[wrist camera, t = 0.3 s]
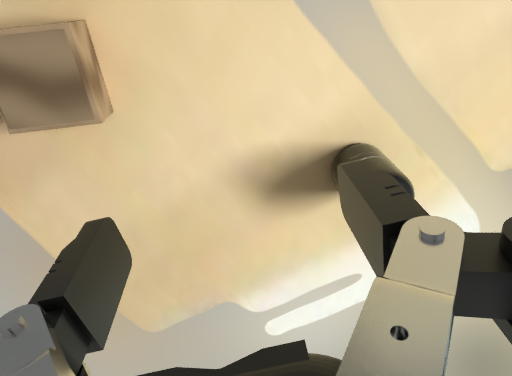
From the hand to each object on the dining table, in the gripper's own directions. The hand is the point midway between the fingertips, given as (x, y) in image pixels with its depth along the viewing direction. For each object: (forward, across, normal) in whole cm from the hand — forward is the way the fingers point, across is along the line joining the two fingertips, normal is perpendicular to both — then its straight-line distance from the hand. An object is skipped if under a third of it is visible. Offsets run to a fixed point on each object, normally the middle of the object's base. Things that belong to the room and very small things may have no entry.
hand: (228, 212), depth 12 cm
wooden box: (+27, +17, -4) cm, 32 cm away
